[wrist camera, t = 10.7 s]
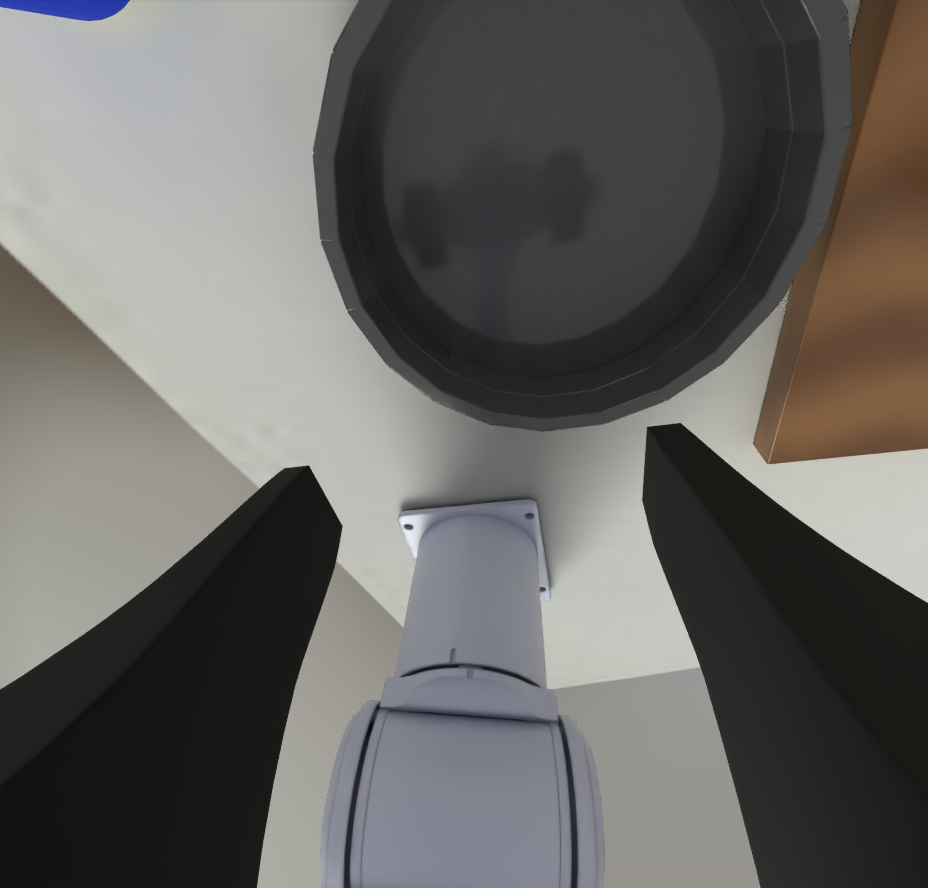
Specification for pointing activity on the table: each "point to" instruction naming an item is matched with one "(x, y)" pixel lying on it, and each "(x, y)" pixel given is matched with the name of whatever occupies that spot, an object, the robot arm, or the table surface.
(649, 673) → the table surface
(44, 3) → the beverage can
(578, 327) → the pan
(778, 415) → the chopping board
